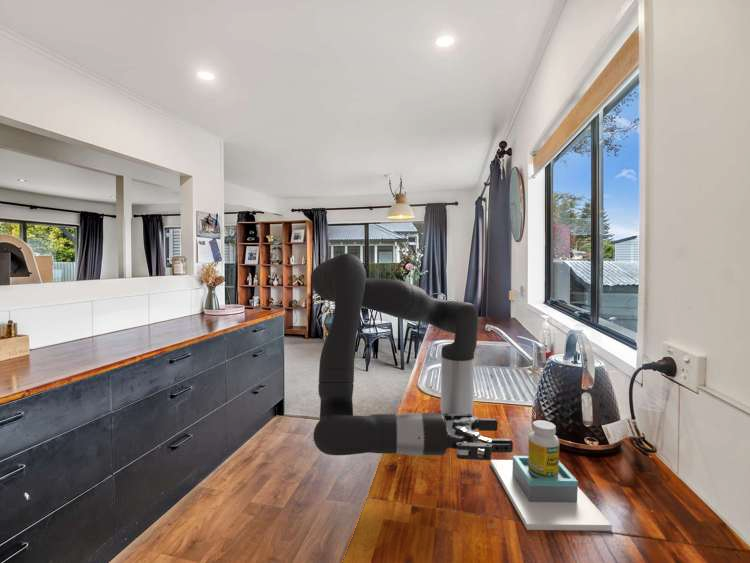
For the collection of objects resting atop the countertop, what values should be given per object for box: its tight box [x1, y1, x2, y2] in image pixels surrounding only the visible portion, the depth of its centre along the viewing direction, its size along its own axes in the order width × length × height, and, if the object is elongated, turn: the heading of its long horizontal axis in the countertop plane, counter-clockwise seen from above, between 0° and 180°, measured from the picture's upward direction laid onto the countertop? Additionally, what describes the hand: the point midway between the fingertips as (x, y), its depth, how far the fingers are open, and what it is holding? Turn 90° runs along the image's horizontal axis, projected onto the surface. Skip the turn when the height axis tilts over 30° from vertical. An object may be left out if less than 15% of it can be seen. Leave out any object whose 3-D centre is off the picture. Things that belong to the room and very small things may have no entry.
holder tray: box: [490, 455, 613, 532], centre depth 71 cm, size 20×14×5 cm
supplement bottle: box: [527, 419, 560, 478], centre depth 71 cm, size 5×5×10 cm
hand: (504, 434), depth 71 cm, fingers open, 8 cm apart
